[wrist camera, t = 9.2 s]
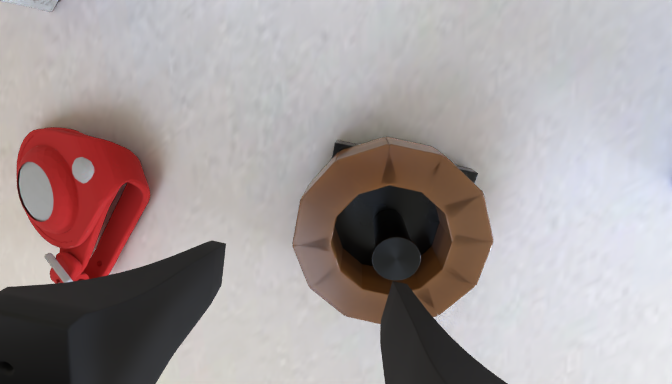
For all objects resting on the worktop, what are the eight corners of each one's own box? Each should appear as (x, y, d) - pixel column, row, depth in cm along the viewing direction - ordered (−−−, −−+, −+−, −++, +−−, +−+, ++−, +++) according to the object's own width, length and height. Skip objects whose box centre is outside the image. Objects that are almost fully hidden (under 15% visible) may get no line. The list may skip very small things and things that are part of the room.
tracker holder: (-22, 154, 22) (53, 92, 18) (55, 151, 26) (130, 101, 22) (41, 320, 22) (128, 298, 18) (107, 292, 26) (190, 268, 22)
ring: (497, 160, 19) (521, 172, 16) (443, 309, 23) (454, 341, 20) (320, 122, 19) (313, 127, 17) (291, 276, 23) (281, 302, 20)
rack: (471, 168, 21) (514, 197, 15) (431, 285, 24) (454, 347, 18) (336, 139, 21) (327, 157, 15) (312, 259, 24) (297, 312, 18)
